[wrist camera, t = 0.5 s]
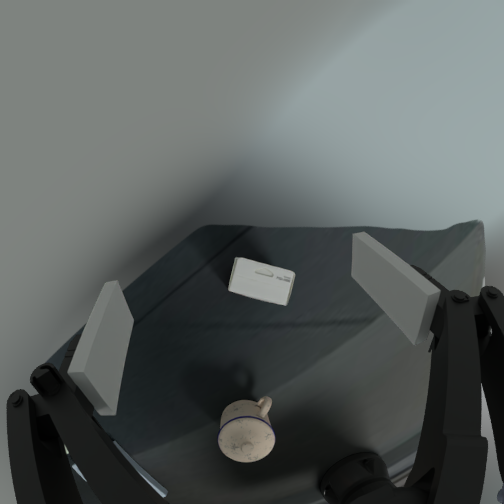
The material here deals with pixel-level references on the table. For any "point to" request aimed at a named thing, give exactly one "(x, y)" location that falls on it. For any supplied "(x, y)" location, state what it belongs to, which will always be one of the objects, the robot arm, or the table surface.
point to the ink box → (261, 281)
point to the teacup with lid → (246, 430)
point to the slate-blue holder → (143, 473)
